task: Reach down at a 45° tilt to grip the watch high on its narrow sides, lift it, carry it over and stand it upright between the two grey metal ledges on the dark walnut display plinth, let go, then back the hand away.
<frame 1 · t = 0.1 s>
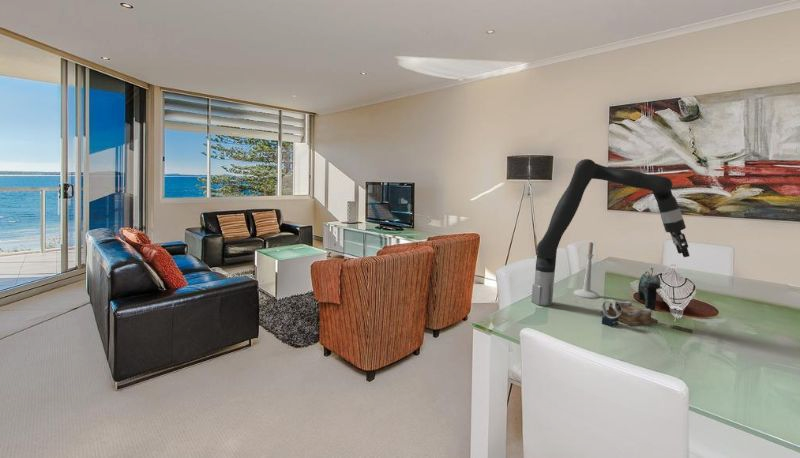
hand: (683, 254, 167), 31 cm above the table, tool tilted 20°, fingers open, 8 cm apart
display plinth: (628, 317, 176), on the table
watch: (609, 324, 168), on the table
candlestick: (586, 295, 209), on the table
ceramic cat: (645, 304, 196), on the table
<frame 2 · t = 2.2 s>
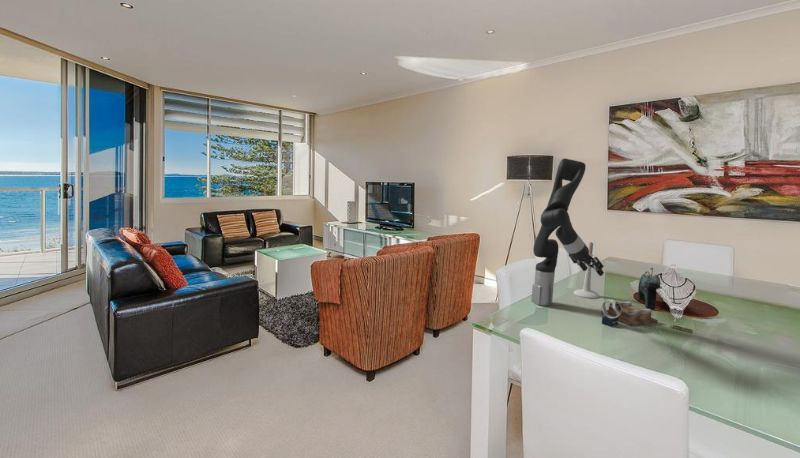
hand: (593, 272, 161), 24 cm above the table, tool tilted 45°, fingers open, 8 cm apart
nothing on the table moved.
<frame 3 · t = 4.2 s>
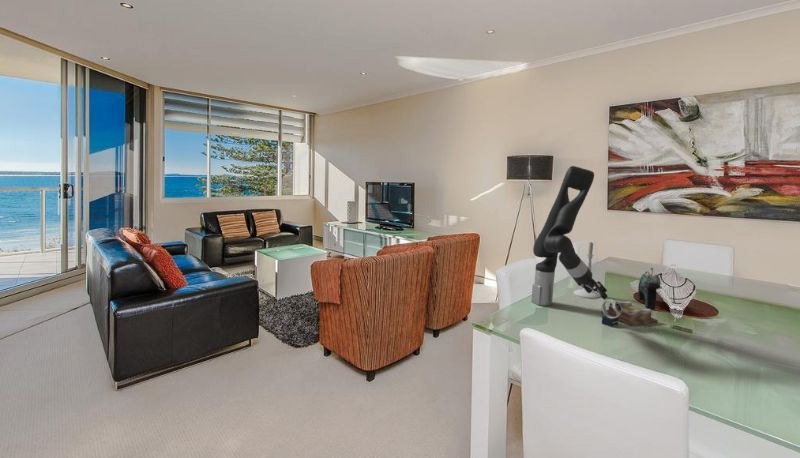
hand: (597, 294, 164), 14 cm above the table, tool tilted 45°, fingers open, 8 cm apart
nothing on the table moved.
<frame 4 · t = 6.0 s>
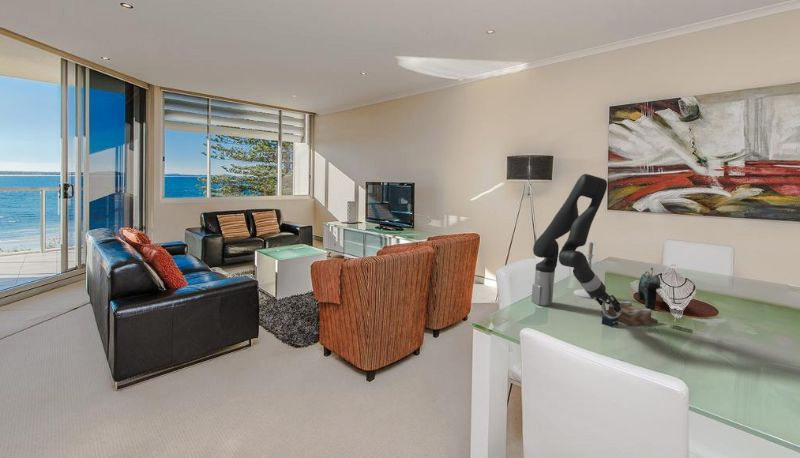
hand: (610, 307, 167), 8 cm above the table, tool tilted 45°, fingers closed on watch, 8 cm apart
watch: (609, 324, 168), on the table, touching gripper
everything else where it was.
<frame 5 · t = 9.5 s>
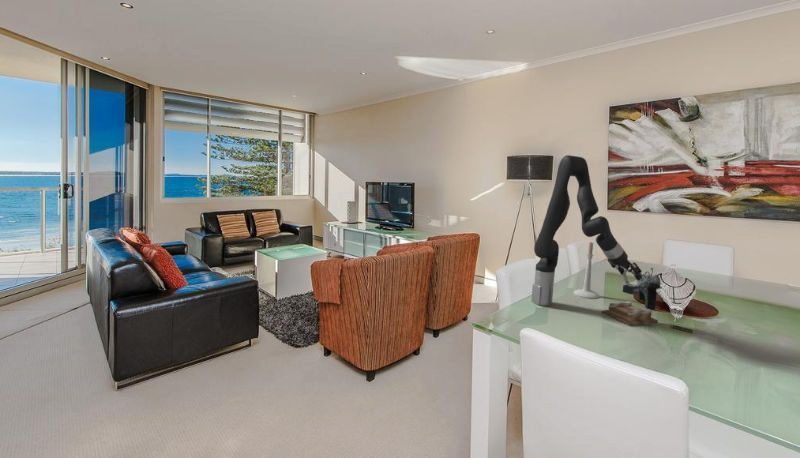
hand: (631, 276, 172), 20 cm above the table, tool tilted 45°, fingers closed on watch, 8 cm apart
watch: (630, 292, 174), point 12 cm above the table, touching gripper
everything else where it was.
when the fingers open (13 cm above the table, at t = 12.8 s): watch drops 1 cm, resting on display plinth.
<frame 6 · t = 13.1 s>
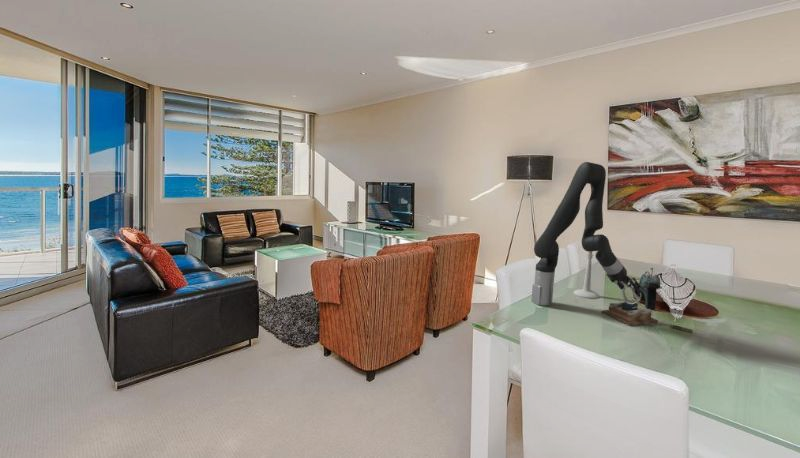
hand: (630, 290, 174), 13 cm above the table, tool tilted 45°, fingers open, 8 cm apart
watch: (629, 310, 175), point 4 cm above the table, touching display plinth
everything else where it was.
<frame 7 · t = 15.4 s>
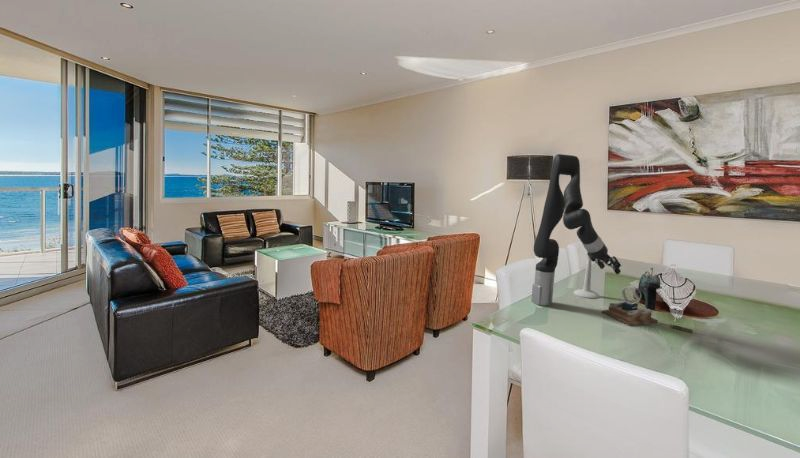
hand: (610, 270, 170), 23 cm above the table, tool tilted 45°, fingers open, 8 cm apart
nothing on the table moved.
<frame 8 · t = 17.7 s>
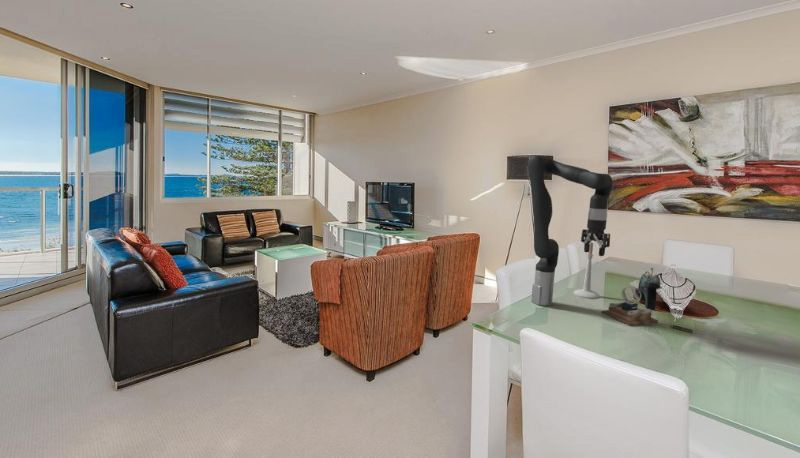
hand: (593, 254, 171), 30 cm above the table, tool pointing down, fingers open, 8 cm apart
nothing on the table moved.
at the end: watch 0.2 cm off-centre on the display plinth, point 3.8 cm above the display plinth's base; watch tilted 0°; the gripper is holding nothing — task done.
